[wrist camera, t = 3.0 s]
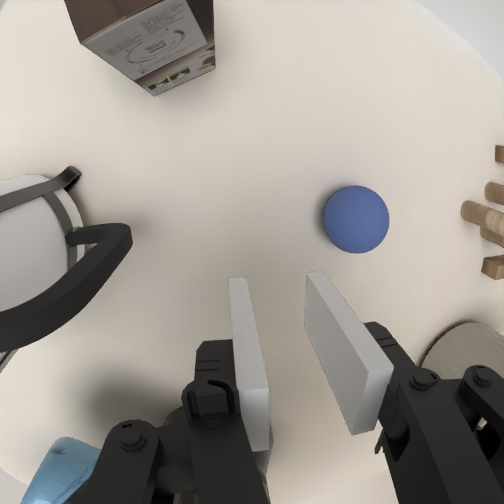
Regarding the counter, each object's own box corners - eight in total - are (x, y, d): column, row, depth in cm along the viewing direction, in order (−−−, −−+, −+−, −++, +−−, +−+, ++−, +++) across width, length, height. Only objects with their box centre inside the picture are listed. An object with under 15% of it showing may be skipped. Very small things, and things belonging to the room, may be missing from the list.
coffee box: (219, 68, 24) (219, -17, 9) (152, 98, 25) (76, 51, 9) (182, -6, 21) (156, -114, 6) (119, 23, 22) (43, -59, 6)
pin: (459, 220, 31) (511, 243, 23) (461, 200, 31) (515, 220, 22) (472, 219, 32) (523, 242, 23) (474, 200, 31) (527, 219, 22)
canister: (419, 413, 43) (474, 503, 23) (381, 364, 37) (459, 487, 17) (496, 345, 40) (567, 416, 20) (478, 277, 35) (586, 357, 15)
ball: (314, 243, 31) (335, 266, 25) (315, 182, 29) (337, 191, 23) (369, 240, 31) (397, 260, 25) (372, 181, 29) (403, 191, 23)
